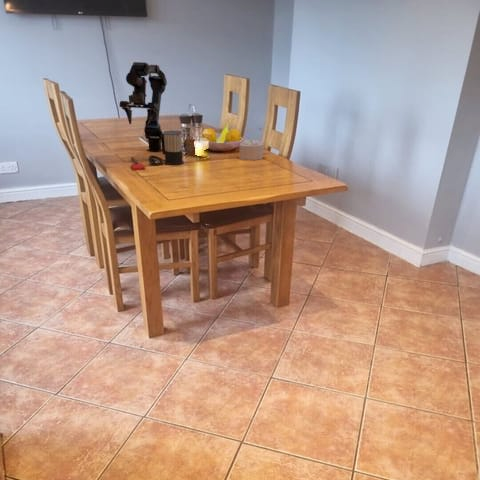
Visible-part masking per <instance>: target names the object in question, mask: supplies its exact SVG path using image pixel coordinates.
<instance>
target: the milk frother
mask: <svg viewBox="0 0 480 480" xmlns="http://www.w3.org/2000/svg"><path fill="white" fill-rule="evenodd" d="M162 133H163V134H162V136H161V149H162V151H161V152H162V155H163V156H164V159H163V158H161V157H160V156H157V155H149V156H148V158H147V159H148V162H149V163H150V164H152V165H154V166H158V165H159V166H160V165H162V164H163V162H164V164H167V165H170V166H179V165H182V164H183V163H184V160H183V139H182V138H183V136H182V135H183V132H182V131H181V130H176V129H175V130H173V129H169V130H164V131H162ZM157 161H159V162H157Z"/></svg>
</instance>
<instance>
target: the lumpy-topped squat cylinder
mask: <svg viewBox="0 0 480 480" xmlns="http://www.w3.org/2000/svg"><path fill="white" fill-rule="evenodd" d="M238 148H239V149H238V151H239V152H238V154H239V156H238V159H239V160H243V161H257V160H262V159H264V151H265V150H264V149H265V145H264V143H263V142H261V140H258V139H252V140H250V139H249V138H246V139H243V141H242V143H240V146H239V147H238Z"/></svg>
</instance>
